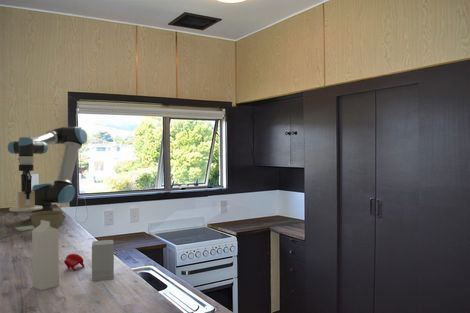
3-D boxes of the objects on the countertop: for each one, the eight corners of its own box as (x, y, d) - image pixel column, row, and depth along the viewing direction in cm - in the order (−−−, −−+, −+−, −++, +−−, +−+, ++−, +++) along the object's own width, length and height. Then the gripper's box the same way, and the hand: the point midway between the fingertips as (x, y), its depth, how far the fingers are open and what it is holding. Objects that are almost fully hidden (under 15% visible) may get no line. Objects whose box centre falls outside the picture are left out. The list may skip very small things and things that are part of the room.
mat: (15, 228, 227) (15, 227, 227) (33, 226, 234) (33, 225, 234) (19, 231, 219) (19, 230, 219) (39, 228, 225) (39, 227, 225)
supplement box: (113, 279, 137) (113, 243, 137) (91, 281, 135) (91, 245, 135) (114, 273, 145) (113, 239, 144) (92, 275, 142) (92, 240, 142)
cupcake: (68, 224, 240) (67, 204, 240) (60, 226, 232) (60, 206, 231) (54, 223, 241) (54, 204, 241) (46, 226, 233) (46, 206, 232)
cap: (69, 265, 144) (83, 253, 148) (60, 257, 147) (73, 246, 151) (76, 277, 149) (89, 266, 153) (67, 270, 152) (80, 259, 156)
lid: (6, 209, 226) (6, 191, 226) (38, 206, 238) (37, 189, 237) (13, 212, 214) (13, 193, 213) (46, 209, 225) (46, 191, 225)
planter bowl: (30, 237, 205) (30, 216, 204) (30, 231, 219) (30, 211, 219) (64, 233, 212) (63, 213, 212) (62, 228, 226) (61, 209, 226)
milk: (50, 282, 135) (49, 218, 135) (59, 285, 132) (58, 220, 131) (32, 287, 130) (31, 221, 130) (41, 290, 127) (40, 222, 126)
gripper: (15, 163, 229) (15, 203, 229) (22, 164, 217) (22, 206, 217) (29, 163, 234) (29, 202, 234) (37, 164, 221) (37, 205, 222)
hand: (26, 204), depth 226 cm, fingers closed on lid, 4 cm apart
